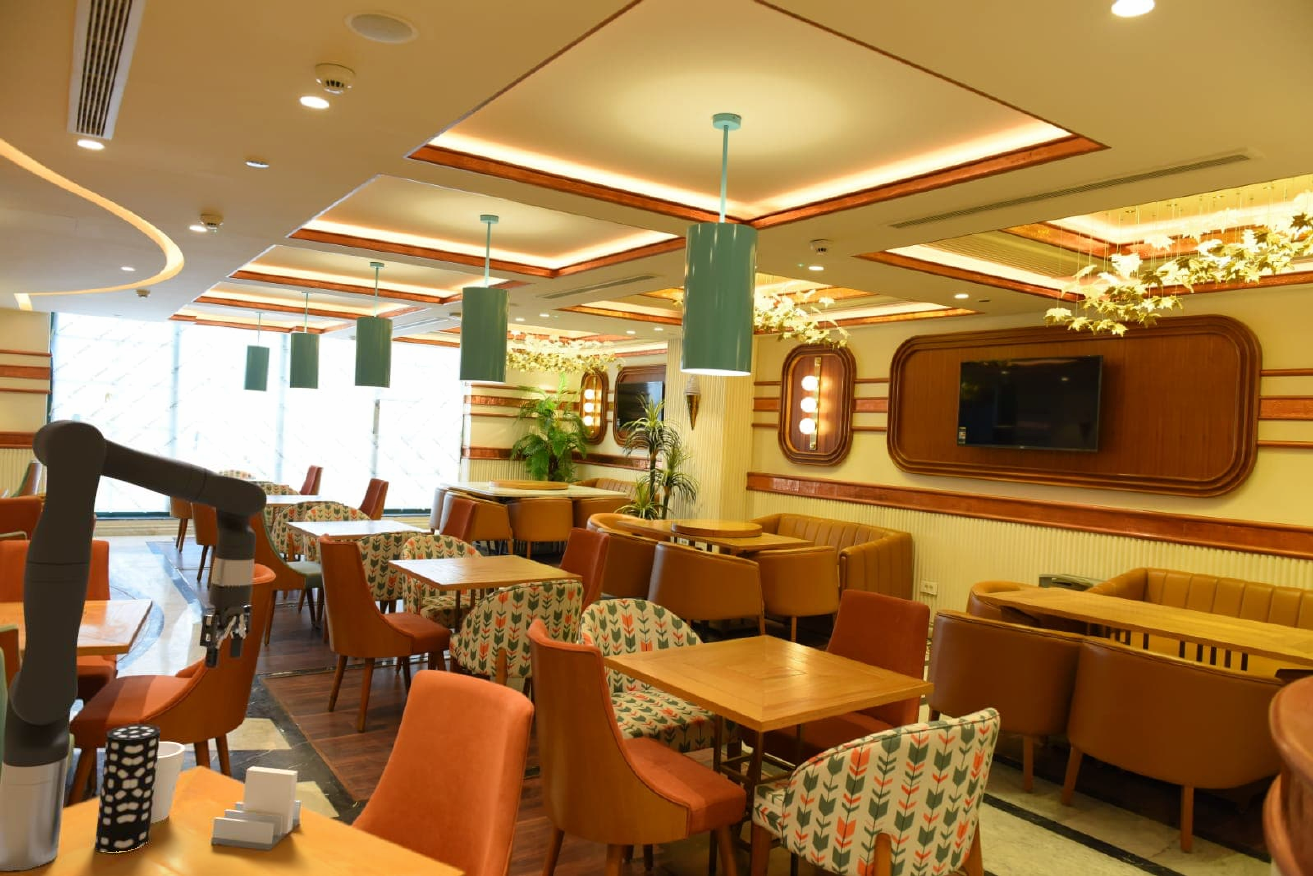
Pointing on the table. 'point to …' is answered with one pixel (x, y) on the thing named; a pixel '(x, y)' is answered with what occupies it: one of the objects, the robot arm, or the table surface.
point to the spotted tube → (127, 788)
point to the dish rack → (251, 828)
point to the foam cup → (166, 778)
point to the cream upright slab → (271, 793)
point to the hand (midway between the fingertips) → (223, 662)
